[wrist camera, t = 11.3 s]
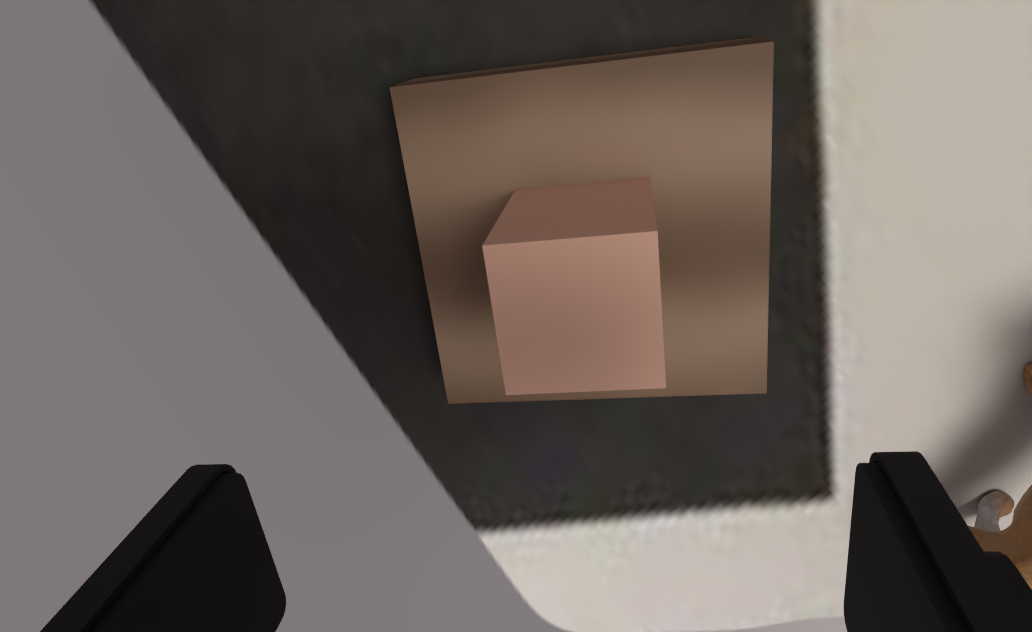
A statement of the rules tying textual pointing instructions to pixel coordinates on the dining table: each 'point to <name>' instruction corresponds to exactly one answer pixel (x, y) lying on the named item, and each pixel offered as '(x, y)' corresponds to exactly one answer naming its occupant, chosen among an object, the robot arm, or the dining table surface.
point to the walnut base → (594, 158)
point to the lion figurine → (1028, 535)
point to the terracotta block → (577, 288)
